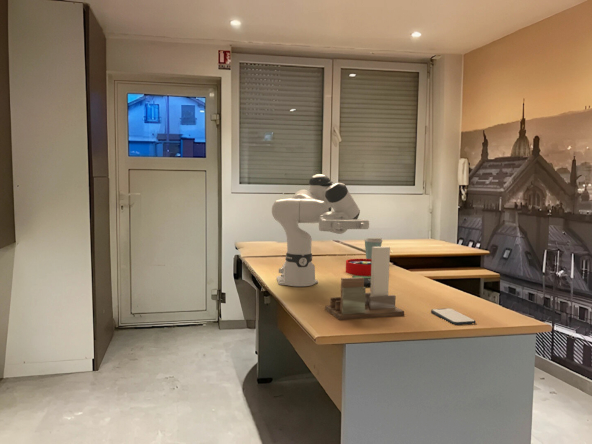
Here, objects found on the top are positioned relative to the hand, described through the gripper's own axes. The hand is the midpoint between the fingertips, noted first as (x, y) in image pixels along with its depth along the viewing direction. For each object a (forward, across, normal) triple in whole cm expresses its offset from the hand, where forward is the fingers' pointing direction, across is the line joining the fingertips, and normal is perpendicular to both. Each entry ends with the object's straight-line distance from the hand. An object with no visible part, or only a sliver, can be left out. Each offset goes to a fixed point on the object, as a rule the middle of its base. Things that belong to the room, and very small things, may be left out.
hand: (351, 225), depth 183 cm
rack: (+16, +1, -30) cm, 34 cm away
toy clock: (-56, -33, -30) cm, 71 cm away
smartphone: (+29, -27, -31) cm, 50 cm away
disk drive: (-30, -20, -30) cm, 47 cm away
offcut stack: (+20, +8, -29) cm, 36 cm away
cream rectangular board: (+15, -6, -28) cm, 32 cm away
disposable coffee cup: (-83, -51, -29) cm, 102 cm away
